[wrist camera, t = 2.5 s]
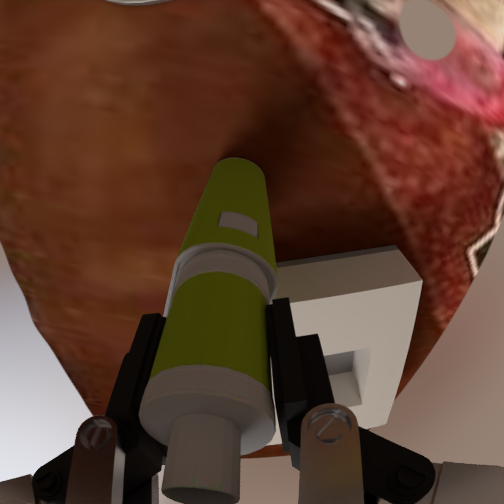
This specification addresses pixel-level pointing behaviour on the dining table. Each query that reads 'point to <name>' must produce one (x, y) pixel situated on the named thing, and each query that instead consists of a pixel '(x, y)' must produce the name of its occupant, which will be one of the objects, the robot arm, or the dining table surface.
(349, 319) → the charging dock
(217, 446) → the vape
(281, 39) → the dining table surface
